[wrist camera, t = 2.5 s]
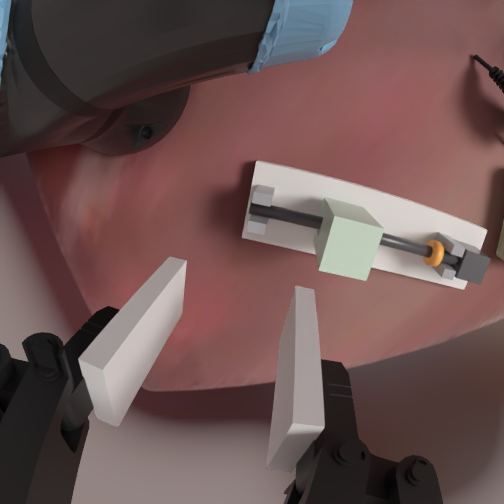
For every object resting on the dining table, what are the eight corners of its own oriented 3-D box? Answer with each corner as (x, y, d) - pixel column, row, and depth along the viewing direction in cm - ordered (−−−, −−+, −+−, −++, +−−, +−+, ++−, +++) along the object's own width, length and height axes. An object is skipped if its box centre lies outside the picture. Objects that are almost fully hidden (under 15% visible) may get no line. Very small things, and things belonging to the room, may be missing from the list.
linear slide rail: (243, 233, 32) (234, 252, 27) (257, 160, 29) (250, 164, 24) (458, 284, 31) (478, 306, 26) (481, 226, 28) (505, 241, 22)
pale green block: (313, 239, 29) (318, 270, 22) (324, 196, 27) (334, 215, 20) (350, 248, 28) (366, 280, 22) (363, 207, 27) (384, 228, 20)
